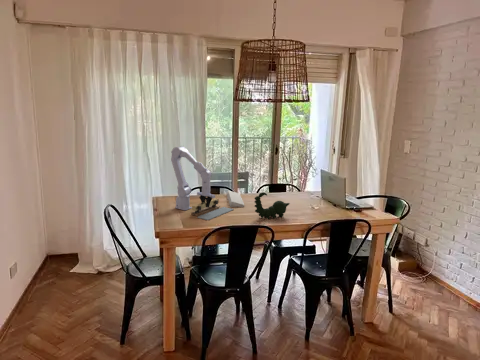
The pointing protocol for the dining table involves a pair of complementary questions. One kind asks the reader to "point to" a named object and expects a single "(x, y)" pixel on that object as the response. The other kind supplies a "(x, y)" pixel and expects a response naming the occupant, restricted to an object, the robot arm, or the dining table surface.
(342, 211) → the dining table surface
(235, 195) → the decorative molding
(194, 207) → the rail
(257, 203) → the toy figurine
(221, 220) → the dining table surface
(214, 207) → the rail stand
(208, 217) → the mat
